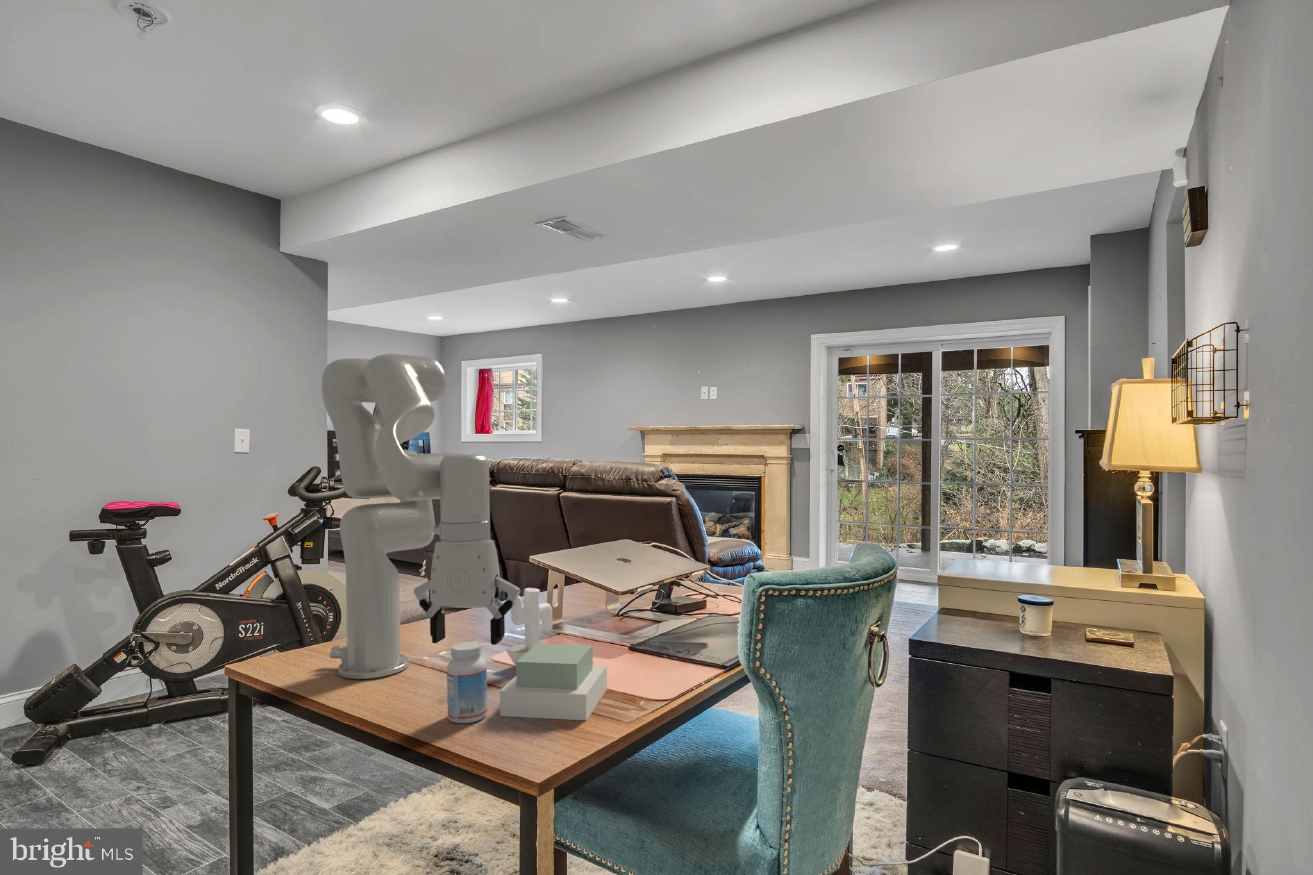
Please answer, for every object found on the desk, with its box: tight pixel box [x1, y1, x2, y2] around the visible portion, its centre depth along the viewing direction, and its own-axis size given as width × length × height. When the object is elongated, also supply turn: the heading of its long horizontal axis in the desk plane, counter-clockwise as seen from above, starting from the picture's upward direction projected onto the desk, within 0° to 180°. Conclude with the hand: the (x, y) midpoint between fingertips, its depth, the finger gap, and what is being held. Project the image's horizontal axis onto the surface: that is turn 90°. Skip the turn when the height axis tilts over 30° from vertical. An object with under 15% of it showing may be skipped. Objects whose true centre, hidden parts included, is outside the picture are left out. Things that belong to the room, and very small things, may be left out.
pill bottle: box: [446, 641, 488, 724], centre depth 110 cm, size 6×6×11 cm
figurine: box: [505, 587, 553, 667], centre depth 135 cm, size 7×9×15 cm
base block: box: [499, 664, 608, 721], centre depth 116 cm, size 14×14×4 cm
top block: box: [515, 643, 594, 689], centre depth 116 cm, size 10×10×4 cm
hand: (467, 641), depth 110 cm, fingers open, 9 cm apart
